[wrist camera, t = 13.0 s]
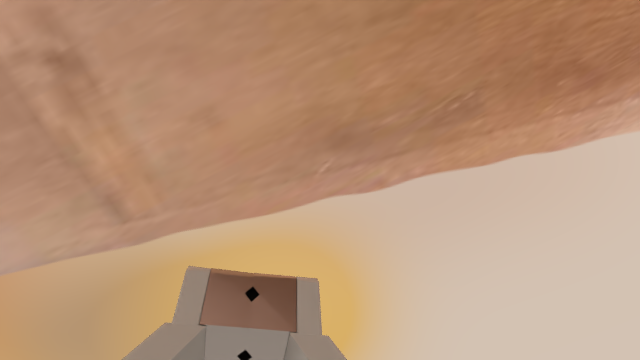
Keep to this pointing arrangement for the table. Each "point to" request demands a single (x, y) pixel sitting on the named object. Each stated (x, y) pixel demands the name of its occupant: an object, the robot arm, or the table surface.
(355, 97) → the table surface
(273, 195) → the table surface
